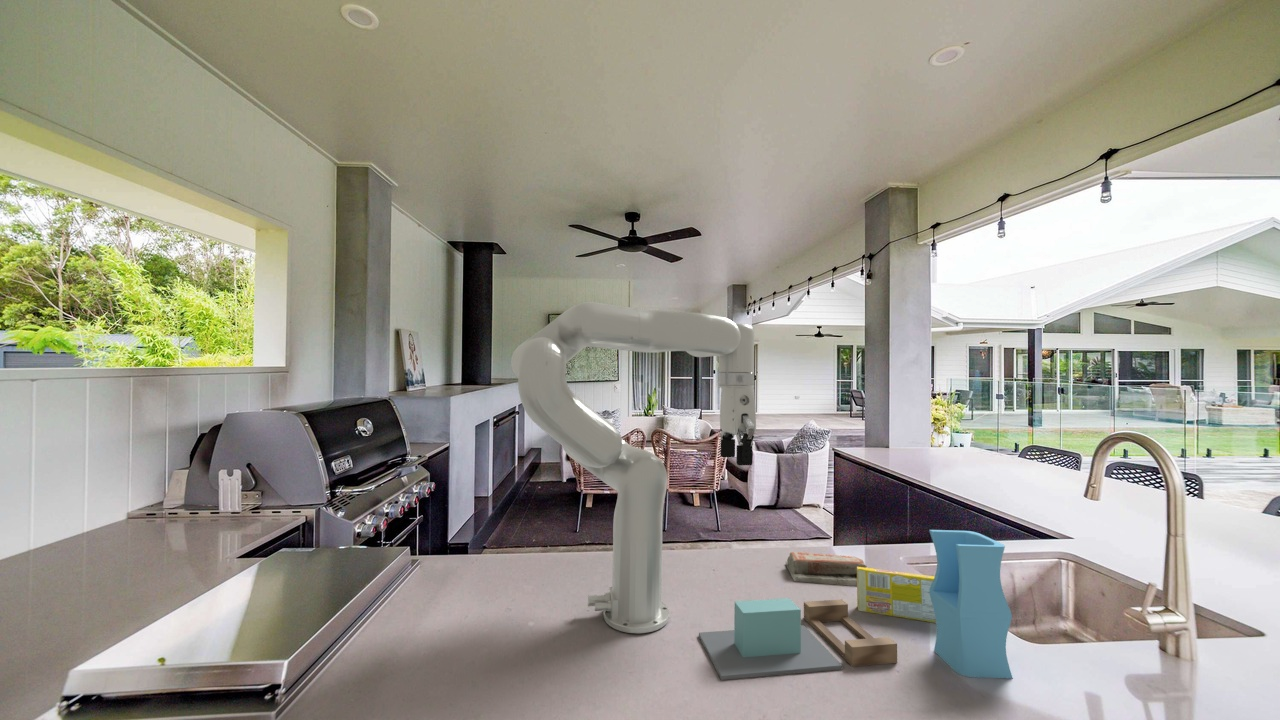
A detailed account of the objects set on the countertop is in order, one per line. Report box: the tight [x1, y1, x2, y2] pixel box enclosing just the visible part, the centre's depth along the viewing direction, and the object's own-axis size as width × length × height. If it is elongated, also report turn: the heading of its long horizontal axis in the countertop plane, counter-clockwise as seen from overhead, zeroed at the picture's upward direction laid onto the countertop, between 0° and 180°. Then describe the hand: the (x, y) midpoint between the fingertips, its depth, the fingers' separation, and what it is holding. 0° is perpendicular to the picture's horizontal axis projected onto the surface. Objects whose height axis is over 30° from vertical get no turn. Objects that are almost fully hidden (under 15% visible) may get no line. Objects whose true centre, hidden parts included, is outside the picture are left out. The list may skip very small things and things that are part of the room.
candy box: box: [856, 567, 937, 624], centre depth 89 cm, size 16×2×8 cm, turn 71°
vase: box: [929, 529, 1013, 680], centre depth 75 cm, size 8×8×20 cm
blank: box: [733, 597, 802, 657], centre depth 77 cm, size 4×10×7 cm, turn 99°
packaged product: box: [785, 551, 868, 587], centre depth 108 cm, size 18×5×10 cm
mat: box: [698, 624, 843, 681], centre depth 76 cm, size 20×12×1 cm, turn 99°
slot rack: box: [803, 598, 898, 668], centre depth 81 cm, size 8×15×3 cm, turn 9°
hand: (735, 460), depth 98 cm, fingers open, 9 cm apart
